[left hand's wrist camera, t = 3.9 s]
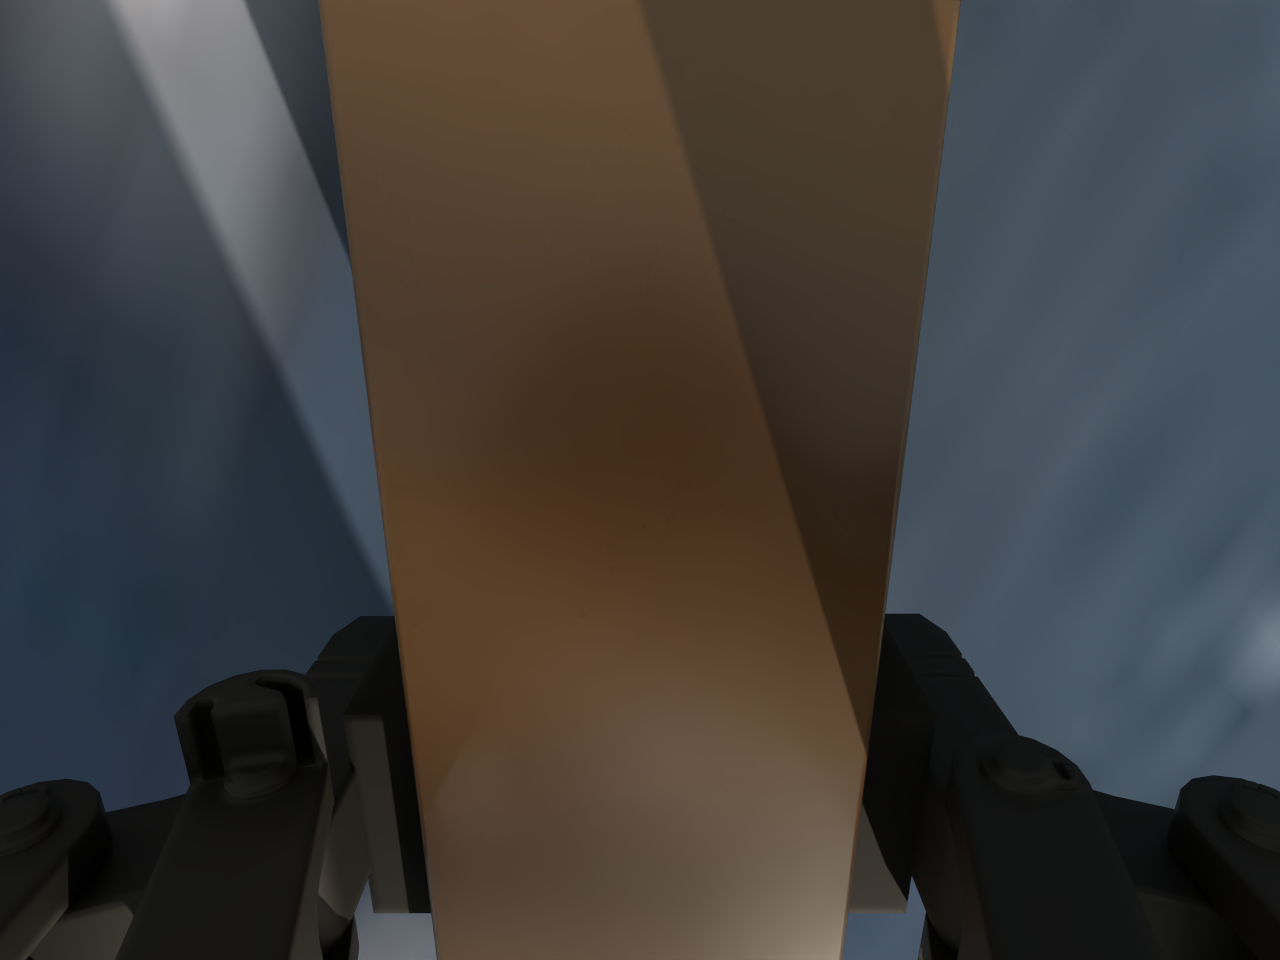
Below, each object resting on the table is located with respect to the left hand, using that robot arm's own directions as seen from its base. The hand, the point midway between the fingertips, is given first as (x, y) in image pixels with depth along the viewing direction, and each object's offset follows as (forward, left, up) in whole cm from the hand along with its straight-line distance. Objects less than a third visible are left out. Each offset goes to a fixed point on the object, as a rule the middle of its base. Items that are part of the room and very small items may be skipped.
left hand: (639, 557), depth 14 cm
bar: (+31, +14, -1) cm, 34 cm away
